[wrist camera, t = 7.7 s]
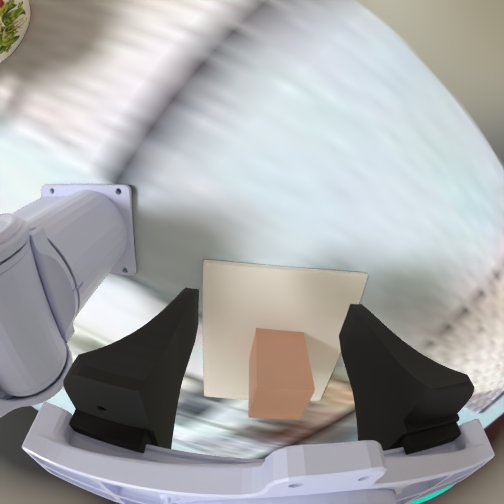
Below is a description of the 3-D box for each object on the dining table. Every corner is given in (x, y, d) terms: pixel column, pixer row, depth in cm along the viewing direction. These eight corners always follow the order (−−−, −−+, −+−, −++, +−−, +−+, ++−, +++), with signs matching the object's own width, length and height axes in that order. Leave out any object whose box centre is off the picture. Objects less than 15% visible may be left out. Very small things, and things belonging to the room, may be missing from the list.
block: (249, 360, 28) (248, 417, 21) (255, 327, 26) (257, 387, 20) (292, 363, 28) (299, 419, 22) (303, 332, 26) (315, 390, 20)
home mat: (204, 392, 31) (204, 395, 31) (204, 259, 23) (203, 262, 23) (318, 396, 32) (319, 400, 31) (365, 272, 24) (368, 276, 24)
